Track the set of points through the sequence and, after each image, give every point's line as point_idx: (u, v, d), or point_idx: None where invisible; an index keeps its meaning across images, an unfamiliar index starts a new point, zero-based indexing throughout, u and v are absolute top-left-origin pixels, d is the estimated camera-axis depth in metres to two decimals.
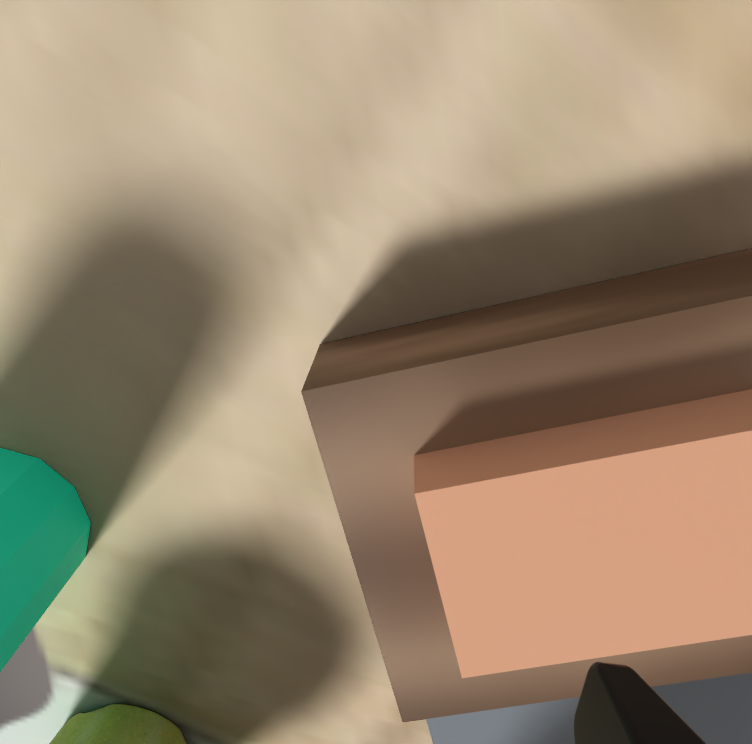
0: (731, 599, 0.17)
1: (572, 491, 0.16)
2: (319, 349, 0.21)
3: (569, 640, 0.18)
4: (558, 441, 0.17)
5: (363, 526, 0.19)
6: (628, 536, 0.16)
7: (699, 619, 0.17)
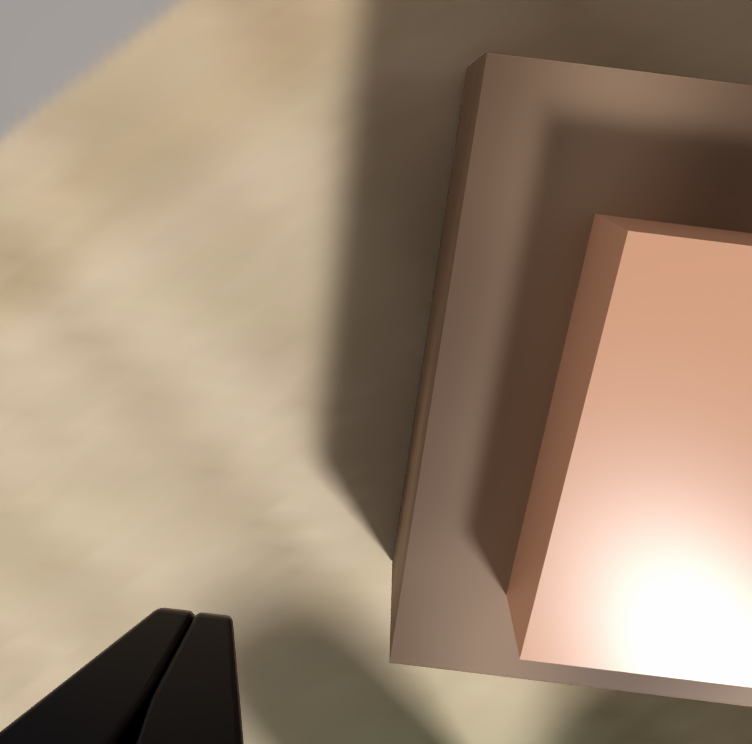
0: None
1: (596, 512, 0.13)
2: (392, 573, 0.20)
3: None
4: (545, 474, 0.14)
5: (568, 666, 0.16)
6: (695, 470, 0.12)
7: None
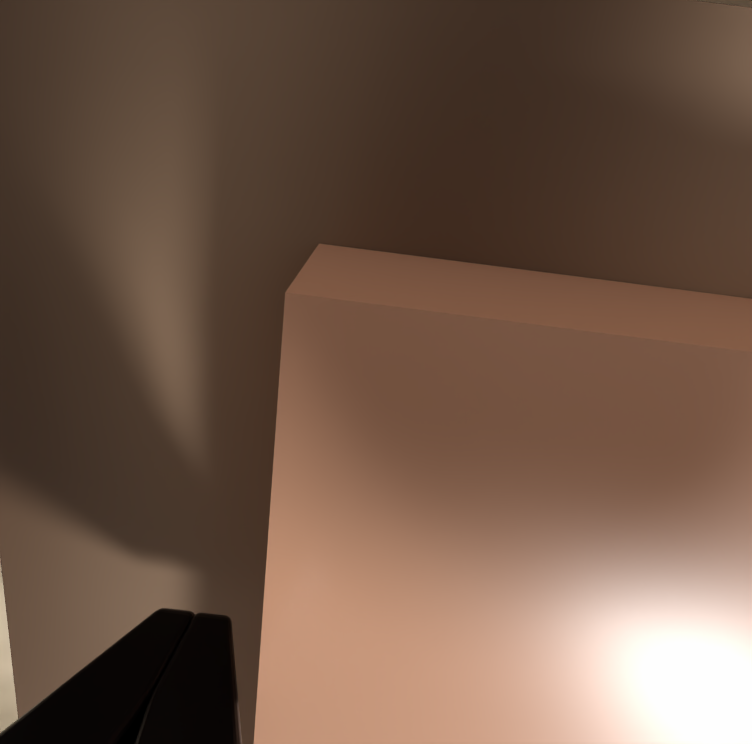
0: None
1: None
2: None
3: None
4: None
5: None
6: (494, 734, 0.06)
7: None
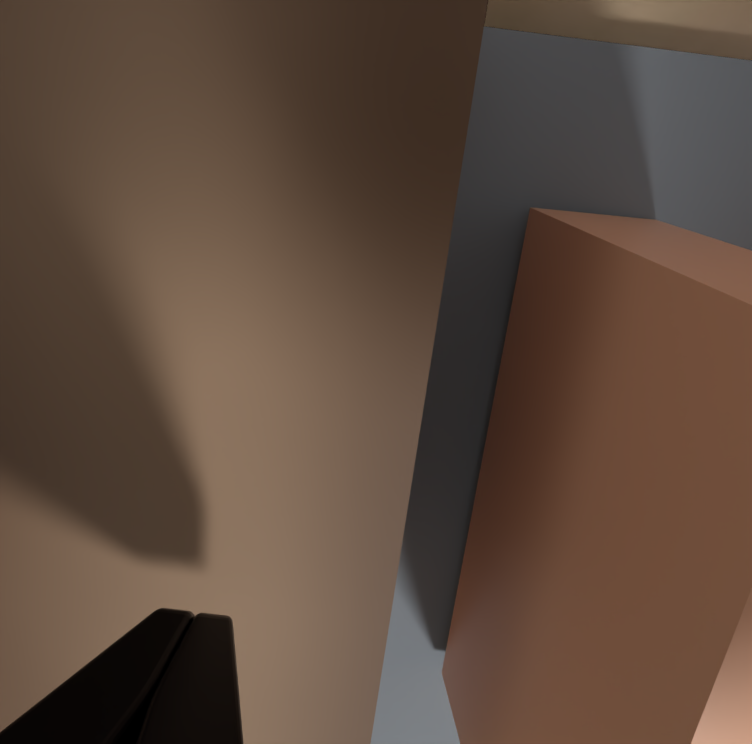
0: None
1: None
2: None
3: None
4: None
5: None
6: None
7: None
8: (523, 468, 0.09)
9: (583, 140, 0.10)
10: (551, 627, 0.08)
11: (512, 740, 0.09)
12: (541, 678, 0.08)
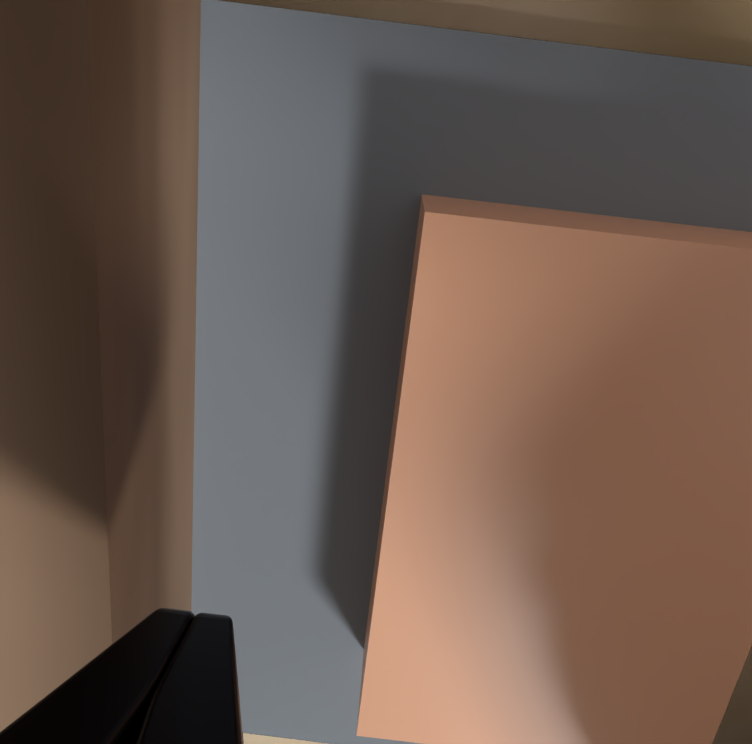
0: None
1: None
2: None
3: None
4: None
5: None
6: None
7: None
8: (511, 466, 0.09)
9: (335, 114, 0.10)
10: (614, 550, 0.10)
11: (567, 663, 0.11)
12: (609, 590, 0.10)
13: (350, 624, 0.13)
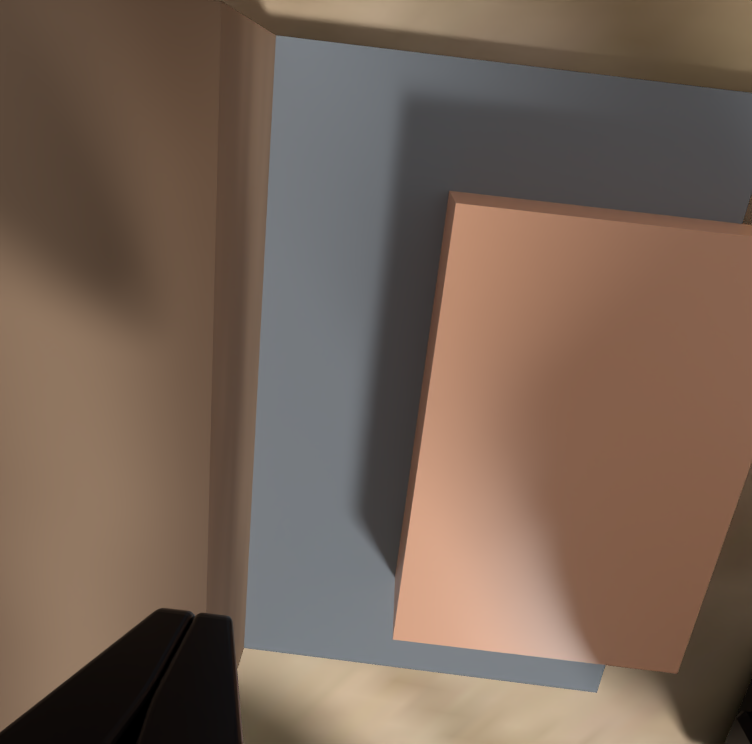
0: None
1: None
2: None
3: None
4: None
5: None
6: None
7: None
8: (521, 407, 0.12)
9: (380, 126, 0.12)
10: (605, 477, 0.12)
11: (566, 574, 0.13)
12: (601, 511, 0.13)
13: (384, 555, 0.16)
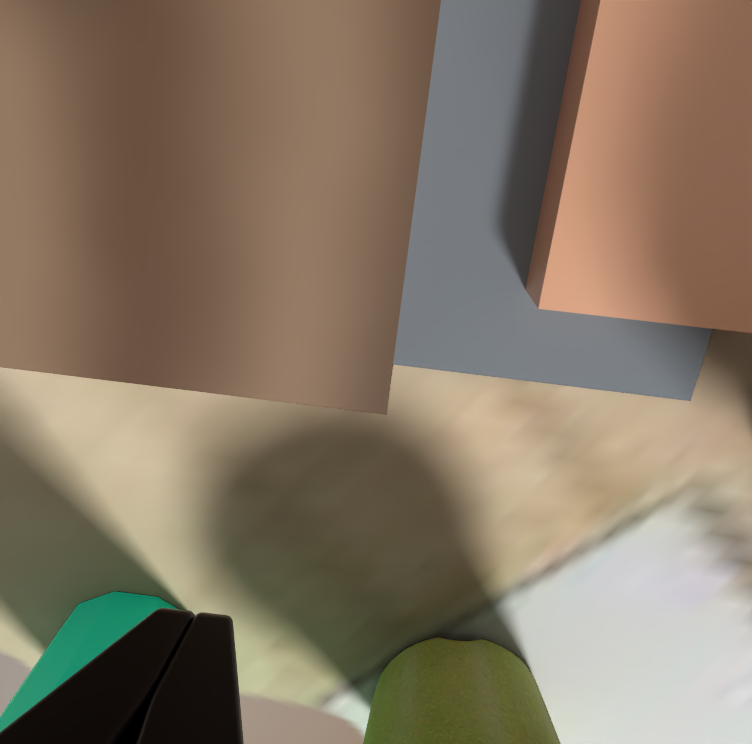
0: None
1: None
2: None
3: None
4: None
5: (81, 355, 0.16)
6: None
7: None
8: (662, 77, 0.15)
9: None
10: (725, 142, 0.15)
11: (687, 239, 0.16)
12: (720, 176, 0.15)
13: (517, 268, 0.18)
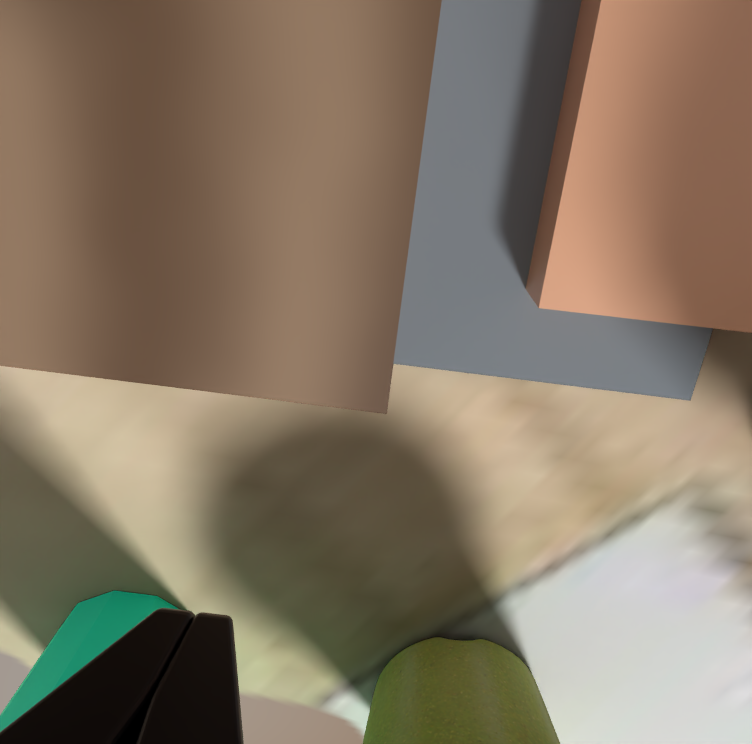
0: None
1: None
2: None
3: None
4: None
5: (81, 353, 0.16)
6: None
7: None
8: (662, 77, 0.15)
9: None
10: (725, 142, 0.15)
11: (688, 238, 0.16)
12: (720, 176, 0.15)
13: (517, 267, 0.18)
